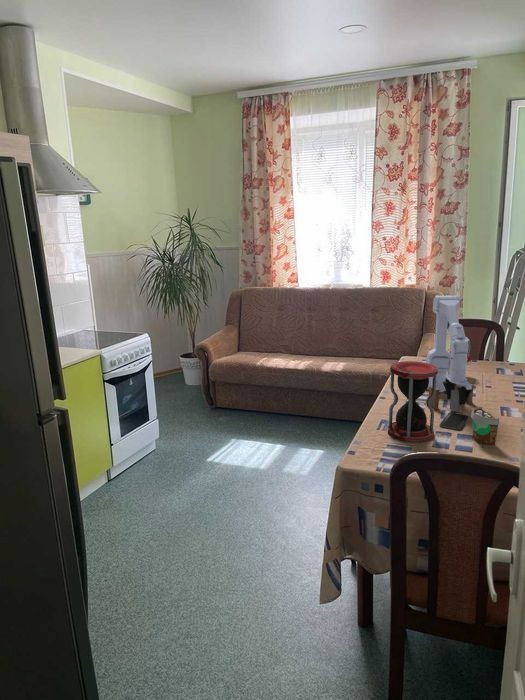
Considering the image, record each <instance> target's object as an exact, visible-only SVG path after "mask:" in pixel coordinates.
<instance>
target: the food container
mask: <svg viewBox="0 0 525 700" xmlns="http://www.w3.org/2000/svg"><path fill="white" fill-rule="evenodd" d="M470 418H471V419H472V438H473V440H474V442H476V443H479V444H482V445H487V446H489V445H490V446H495V445H496V440H497V435H498V429H499V426H500V418H498V417H496V418H495V417H494V416H493V415H492V414H491V413H489V412H487V411H485V410H484V409H483V406H479V407H474V408H473V410H472V411H471V413H470Z"/></svg>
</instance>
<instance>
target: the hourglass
mask: <svg viewBox="0 0 525 700" xmlns="http://www.w3.org/2000/svg"><path fill="white" fill-rule="evenodd" d="M389 371H390V385H389V387H390V389H389V390H390V392H391V393H392V395H393V398H394V399H393V402H392V403H391V404H390V406H389V408H388V409H389V415H388V416H389V417H388V425H387V433H388V434H389V435H390V437H392V438H394V439H397V440H399V441H403V442H408V443H409V442H410V443H411V442H412V443H413V442H414V443H420V442H421V443H422V442H426V441H429V440H431V439H432V438H434V436H435V435H434V434H435V431H434V430H435V429H434V422H435V412H434V411H435V410H434V408H433V407H431V405H430V401H431V398H432V397H433V396H434V395H435V393H436V376H437V374H438V368H437V367H436V366H434V365H432V364H429V363H426V362H423V361H418V360H417V361H416V360H414V361H412V360H407V361H406V360H405V361H397V362H394V363H392V364H391V365H390V368H389ZM395 375H396V376H397V387H398V389H399V391H400V392H401V394H402V395H403V396H404V397H405V398H406V399H407V401H406V402H405V403H404V404H403V405H401V407H400V408H399V409H398V410H397V412H396V415H395V421H393V415H394V414H393V412H394V410H393V409H394V408H395V406H396V405H397V404H398V401H399V396H398V393H397V392H396V391H395V388H394V387H395V386H394V384H395ZM429 377H433V385H432V393H431V395H430V396H429V395H428V396H429V397H427V398H426V401H425V404H426V407H427V409H429V412H430V420H429V425H428V424H427V422H428V421H427V414H426V412H425V410H424V409H423V407H421V405H420V404H419V403H417V399H419V398H420V397H421V396H423V395H424V394H425V393H426V392H427V391H428V389H427V388H428V385H429Z"/></svg>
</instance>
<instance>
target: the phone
mask: <svg viewBox="0 0 525 700" xmlns="http://www.w3.org/2000/svg"><path fill="white" fill-rule="evenodd" d="M469 419H470V416H469V415H466V414H460V413H457V412H448V413H447V414H446V415H445V417H444V418H443V419H442V420H441V421H440V423H439V427H440V428H442V429H443V428H444V429H448V430H452V429H453V431H459V432H461V431H462V430H463V429H464V427H465V425H466V424H467V422H468V421H469Z"/></svg>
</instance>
